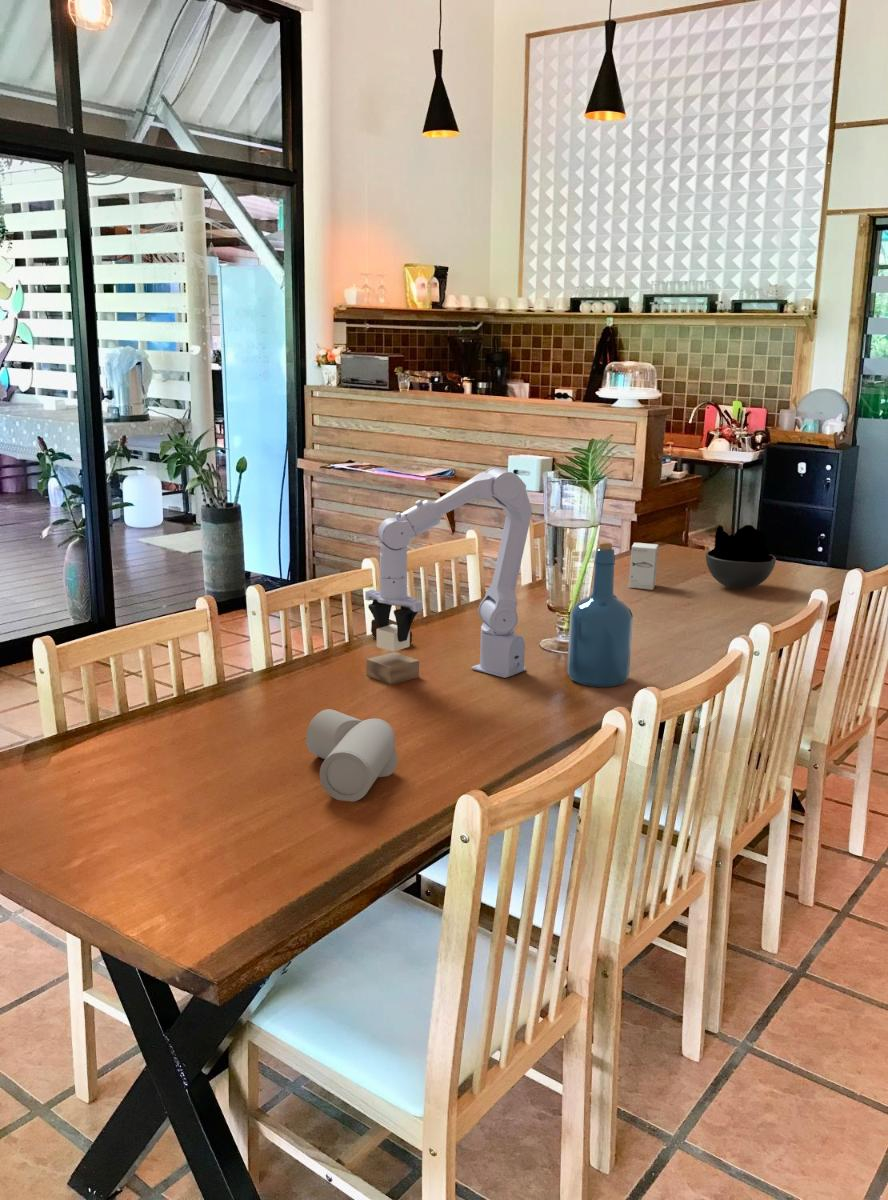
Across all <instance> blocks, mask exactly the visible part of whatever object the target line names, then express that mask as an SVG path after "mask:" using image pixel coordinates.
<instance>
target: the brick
mask: <svg viewBox="0 0 888 1200" xmlns="http://www.w3.org/2000/svg"><path fill="white" fill-rule="evenodd" d="M391 624H394V625H397V622H396V620H392V619H390V618H389V625H391ZM370 627H371V629H370V632H371V634H372V635H373V636H374V637H375V638H374V639H375V640H377V625H376V622H375V619H374V618H373V619H372V620H371V625H370ZM372 635H371V636H372ZM373 636H372V637H373ZM412 638H413V632H412V631H411V630H410V645H411V644H412V641H413V639H412Z"/></svg>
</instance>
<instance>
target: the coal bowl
mask: <svg viewBox="0 0 888 1200" xmlns="http://www.w3.org/2000/svg"><path fill="white" fill-rule="evenodd" d="M767 539H768V537H767V535H766V534H765V532H763V531H761V530H758V529H756V528H755V526H753V525H751V524H746V525H744V526H742V527H740V528H738V529H736V532H735V533H734V534H729V533H728V532H727V531H724V527H723V525H720V524H719V525H718V526H717V529H716V532H715V535H714V548H713V549H711V550H708V551H706V553H705V562H706V565H707V569H708V570H709V572H710V574H711V575H712V577H713V578H714V579H715V580H716V581H717V582H718V584H721V585H723V586H725V587H726V588H729V589H732V588H733V590H739V589H741V590H749V589H753V588H754V587H758V586H759V585H760V584H762V583H763V582H765V580H767V579H768V578H769V577H770V575H771V573H772V572H773V570H774V569H775V566H776V565H775V564H776V562H777V557H776V556H774V555H772V554H770V553H769V551H768V550H767V546H766V540H767Z"/></svg>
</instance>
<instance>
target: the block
mask: <svg viewBox="0 0 888 1200" xmlns="http://www.w3.org/2000/svg"><path fill="white" fill-rule="evenodd" d="M410 631H411V630H409V633H408V637H407V640H406V641H402V642H399V641H398V636H397V625H394V624H391V625H388V626H385V627H381V628H378V629H377V639H376V648H379V649H382V650H386V651H389V652H397V651H400V650H404V649H406V648H409V647H410V646H411V644H410Z"/></svg>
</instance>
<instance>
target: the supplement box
mask: <svg viewBox="0 0 888 1200" xmlns="http://www.w3.org/2000/svg"><path fill="white" fill-rule="evenodd" d="M630 552H631V554H630V564H629V577H628V580H629V581H628V589H640V590H648V591H649V590H650V591H652V590H654V588H655V586H656V585H655V584H656V576H657V568H658V566H657V565H658V554H659V544H656V543H646V542H645V543H643V542H633V544H632V545H631V551H630Z"/></svg>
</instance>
